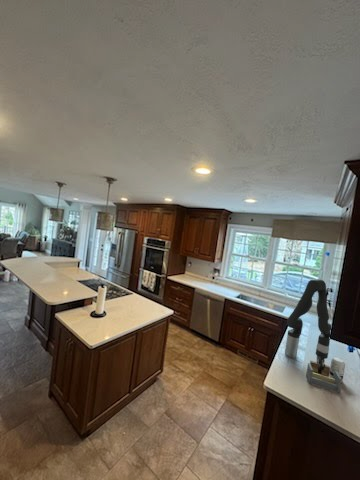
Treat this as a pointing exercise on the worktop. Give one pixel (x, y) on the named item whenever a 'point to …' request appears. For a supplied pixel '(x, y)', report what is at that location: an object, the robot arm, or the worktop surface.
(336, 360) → the supplement can
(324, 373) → the door panel
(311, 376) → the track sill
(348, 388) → the worktop surface
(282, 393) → the worktop surface
